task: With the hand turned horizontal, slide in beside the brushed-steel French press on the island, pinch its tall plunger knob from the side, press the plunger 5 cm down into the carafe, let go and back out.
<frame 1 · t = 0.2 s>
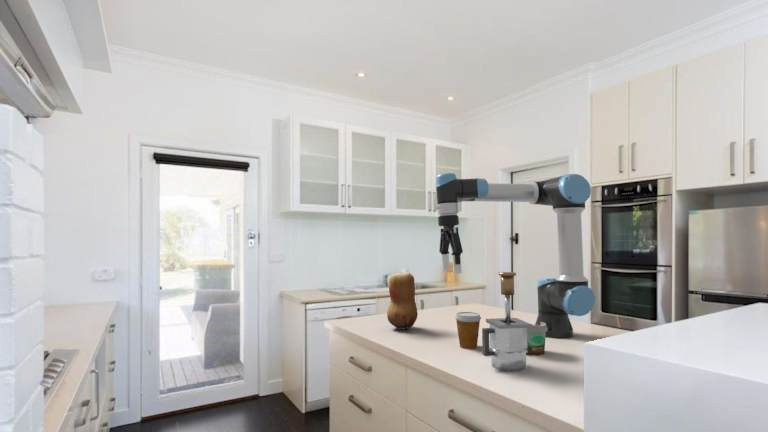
hand: (451, 272, 154), 27 cm above the worktop, tool pointing down, fingers open, 13 cm apart
plunger: (507, 300, 132), point 21 cm above the worktop, slide at 0.0 cm
butternut squash: (402, 329, 185), on the worktop
press carafe: (508, 366, 131), on the worktop
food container: (536, 354, 145), on the worktop
disposable coffee cup: (468, 347, 155), on the worktop
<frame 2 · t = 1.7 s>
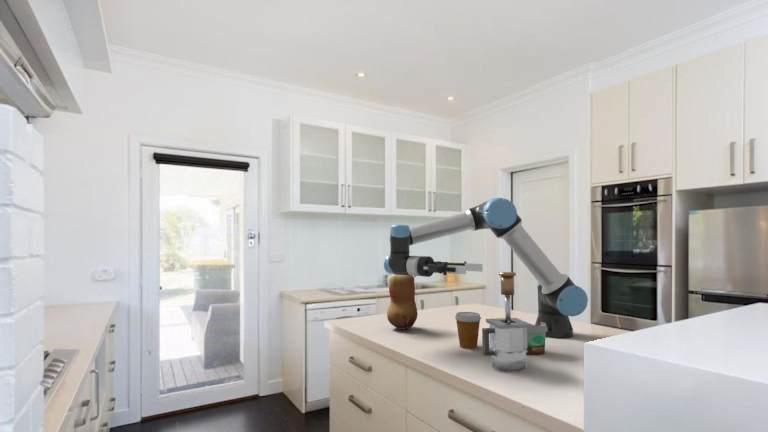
hand: (474, 268, 144), 30 cm above the worktop, tool horizontal, fingers open, 13 cm apart
nothing on the worktop moved.
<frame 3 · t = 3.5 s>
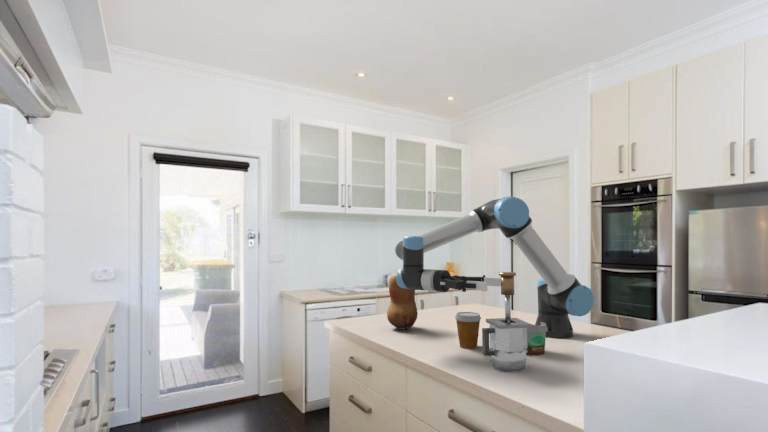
hand: (495, 284, 134), 25 cm above the worktop, tool horizontal, fingers open, 13 cm apart
nothing on the worktop moved.
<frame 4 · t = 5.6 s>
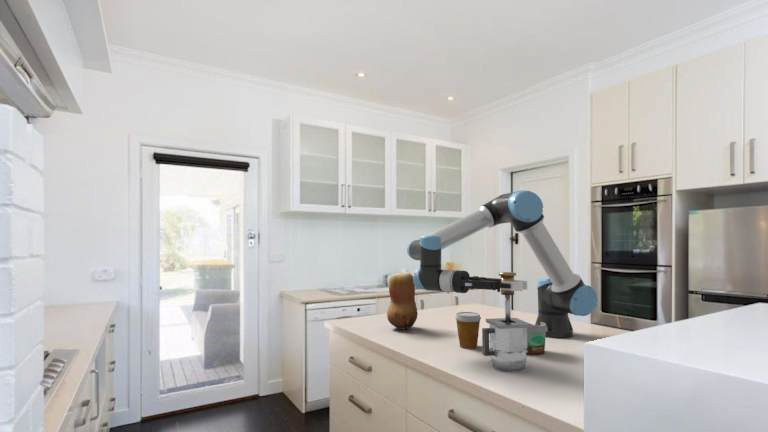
hand: (524, 285, 129), 25 cm above the worktop, tool horizontal, fingers closed on plunger, 4 cm apart
plunger: (507, 300, 132), point 21 cm above the worktop, slide at 0.0 cm, touching gripper
everything else where it was.
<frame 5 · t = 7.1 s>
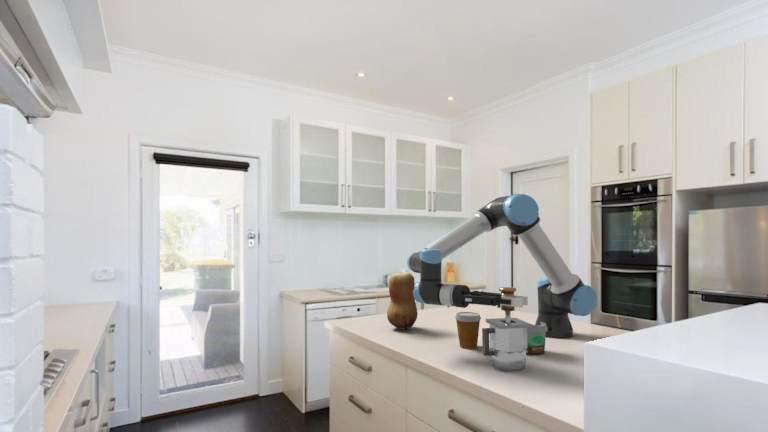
hand: (524, 301, 129), 21 cm above the worktop, tool horizontal, fingers closed on plunger, 4 cm apart
plunger: (507, 316, 132), point 16 cm above the worktop, slide at 4.9 cm, touching gripper
everything else where it was.
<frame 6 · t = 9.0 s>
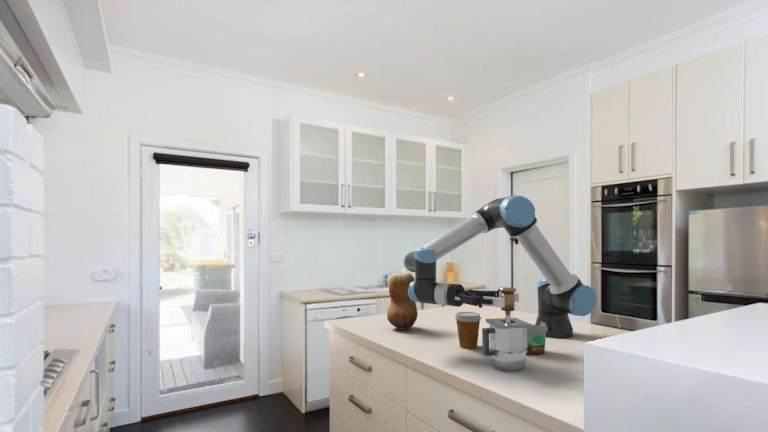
hand: (511, 300, 131), 21 cm above the worktop, tool horizontal, fingers open, 13 cm apart
plunger: (507, 316, 132), point 16 cm above the worktop, slide at 4.9 cm
everything else where it was.
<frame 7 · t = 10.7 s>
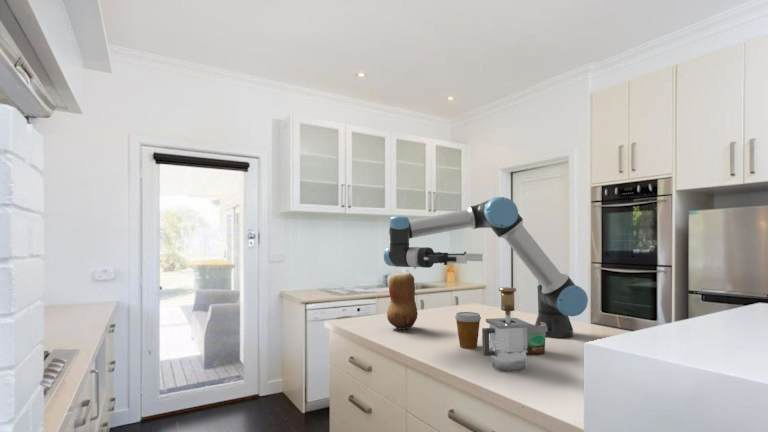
hand: (474, 258, 145), 33 cm above the worktop, tool horizontal, fingers open, 13 cm apart
nothing on the worktop moved.
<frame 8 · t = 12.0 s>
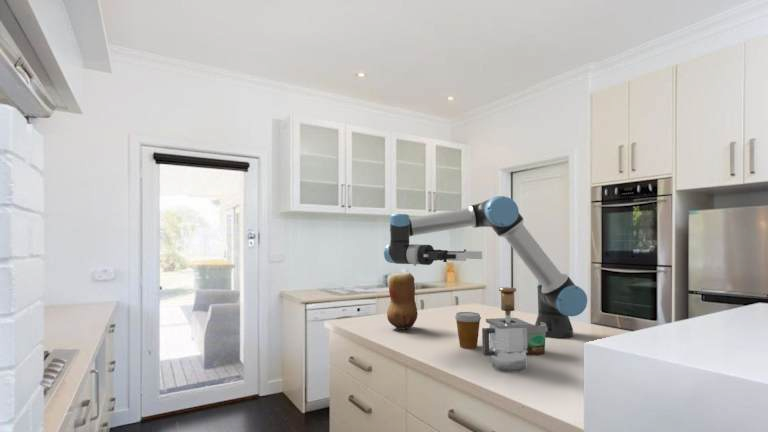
hand: (474, 256, 145), 34 cm above the worktop, tool horizontal, fingers open, 13 cm apart
nothing on the worktop moved.
at the end: plunger slide at 4.9 cm; the gripper is holding nothing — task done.
